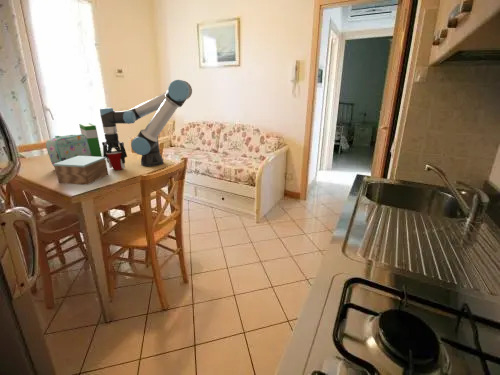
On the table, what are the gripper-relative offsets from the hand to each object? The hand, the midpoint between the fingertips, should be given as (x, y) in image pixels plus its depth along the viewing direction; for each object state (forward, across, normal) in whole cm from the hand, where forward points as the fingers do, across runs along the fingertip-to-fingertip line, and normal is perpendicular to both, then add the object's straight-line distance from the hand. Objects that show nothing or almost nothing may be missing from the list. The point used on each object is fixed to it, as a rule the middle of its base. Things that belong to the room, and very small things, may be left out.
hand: (117, 167), depth 172 cm
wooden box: (+1, -7, -21) cm, 22 cm away
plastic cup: (+1, 0, 0) cm, 1 cm away
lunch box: (+1, -36, +4) cm, 37 cm away
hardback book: (+1, -43, +33) cm, 54 cm away
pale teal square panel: (-9, -7, -21) cm, 24 cm away
